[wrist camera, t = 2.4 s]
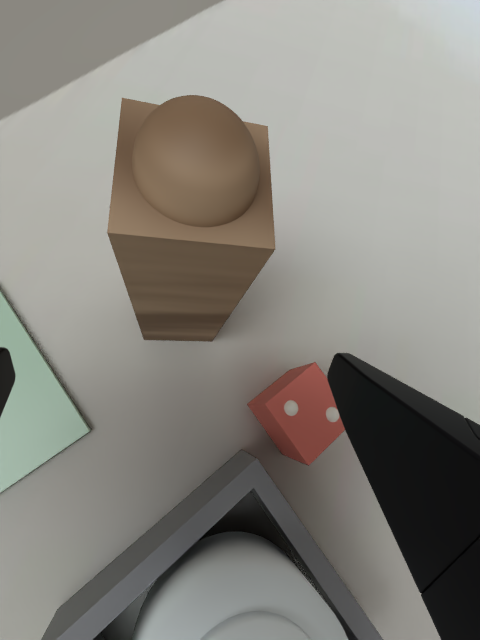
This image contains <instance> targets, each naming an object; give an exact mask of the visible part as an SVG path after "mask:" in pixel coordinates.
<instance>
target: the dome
mask: <svg viewBox="0 0 480 640" xmlns="http://www.w3.org/2000/svg"><path fill="white" fill-rule="evenodd" d="M132 640H348V638H347V636H346V633H345V631H344V629H343V627H342V625H341V624H340V622H339V620H338V619H337V617H336V615H335V614H334V613H333V611H332V610H331V609H330V607H329V606H328V605H327V604H326V602H325V601H324V600H323V599H322V597H321V596H320V595H319V594H318V593H317V591H316V590H315V589H314V588H313V586H312V585H311V584H310V583H309V581H308V580H307V579H306V578H305V576H304V575H303V574H302V573H301V572H300V570H299V569H298V568H297V567H296V565H295V564H294V563H293V562H292V560H291V559H290V558H289V557H288V555H287V554H285V553H284V552H283V551H282V550H281V549H280V548H279V547H278V546H276V545H275V544H274V543H272V542H271V541H269V540H267V539H265V538H263V537H261V536H258V535H255V534H252V533H246V532H224V533H218V534H215V535H212V536H209V537H206V538H204V539H202V540H200V541H198V542H196V543H194V544H193V545H192V546H191V547H190V548H189V549H188V550H187V551H186V552H185V553H184V554H183V555H182V556H181V557H180V558H179V559H178V560H176V561H175V562H174V563H173V564H172V565H171V566H170V567H169V568H168V569H167V570H166V571H165V572H164V573H163V574H162V575H161V576H159V577H158V578H157V580H156V581H155V583H154V585H153V586H152V588H151V590H150V591H149V593H148V595H147V597H146V599H145V601H144V603H143V605H142V608H141V610H140V613H139V616H138V619H137V622H136V625H135V629H134V633H133V637H132Z"/></svg>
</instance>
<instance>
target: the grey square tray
mask: <svg viewBox="0 0 480 640" xmlns="http://www.w3.org/2000/svg"><path fill="white" fill-rule="evenodd" d="M250 491H251V493H252V494H253V495H254V497H255V498H256V500H257V501H258V503H259V504H260V506H261V507H262V509H263V510H264V511H265V513H266V514H267V516H268V517H269V519H270V520H271V522H272V523H273V525H274V526H275V528H276V529H277V530H278V532H279V533H280V535H281V536H282V538H283V539H284V541H285V542H286V544H287V545H288V547H289V548H290V549H291V551H292V552H293V554H294V555H295V557H296V558H297V560H298V561H299V563H300V564H301V565H302V567H303V568H304V570H305V571H306V573H307V574H308V576H309V577H310V579H311V580H312V582H313V583H314V584H315V586H316V587H317V589H318V590H319V592H320V593H321V595H322V596H323V598H324V599H325V600H326V602H327V603H328V605H329V606H330V608H331V609H332V611H333V612H334V614H335V615H336V617H337V619H338V620H339V622H340V624H341V625H342V627H343V629H344V631H345V633H346V636H347V638H348V640H383V639H382V637H381V636H380V634H379V633H378V632H377V630H376V629H375V627H374V626H373V624H372V623H371V622H370V620H369V619H368V617H367V616H366V614H365V613H364V611H363V610H362V609H361V607H360V606H359V604H358V603H357V601H356V600H355V599H354V597H353V596H352V594H351V593H350V591H349V590H348V588H347V587H346V586H345V584H344V583H343V581H342V580H341V578H340V577H339V576H338V574H337V573H336V571H335V570H334V568H333V567H332V565H331V564H330V563H329V561H328V560H327V558H326V557H325V555H324V554H323V553H322V551H321V550H320V548H319V547H318V545H317V544H316V542H315V541H314V540H313V538H312V537H311V535H310V534H309V532H308V531H307V530H306V528H305V527H304V525H303V524H302V522H301V521H300V519H299V518H298V517H297V515H296V514H295V512H294V511H293V509H292V508H291V507H290V505H289V504H288V502H287V501H286V499H285V498H284V497H283V495H282V494H281V492H280V491H279V489H278V488H277V486H276V485H275V484H274V482H273V481H272V479H271V478H270V476H269V475H268V474H267V472H266V471H265V469H264V468H263V466H262V465H261V463H260V462H259V461H258V459H257V458H256V457H254V456H252V455H250V454H249V453H247V452H245V451H243V450H240V451H239V452H238V453H237V454H236V455H235V456H234V457H232V458H231V459H230V460H229V461H228V462H227V463H225V464H224V465H223V466H222V467H221V468H220V469H219V470H217V471H216V472H215V473H214V474H213V475H212V476H211V477H209V478H208V479H207V480H206V481H205V482H204V483H202V484H201V485H200V486H199V487H198V488H197V489H196V490H194V491H193V492H192V493H191V494H190V495H189V496H188V497H186V498H185V499H184V500H183V501H182V502H181V503H179V504H178V505H177V506H176V507H175V508H174V509H173V510H171V511H170V512H169V513H168V514H167V515H166V516H164V517H163V518H162V519H161V520H160V521H159V522H158V523H156V524H155V525H154V526H153V527H152V528H151V529H150V530H148V531H147V532H146V533H145V534H144V535H143V536H141V537H140V538H139V539H138V540H137V541H136V542H135V543H133V544H132V545H131V546H130V547H129V548H128V549H127V550H125V551H124V552H123V553H122V554H121V555H120V556H118V557H117V558H116V559H115V560H114V561H113V562H112V563H110V564H109V565H108V566H107V567H106V568H105V569H103V570H102V571H101V572H100V573H99V574H98V575H97V576H95V577H94V578H93V579H92V580H91V581H90V582H89V583H87V584H86V585H85V586H84V587H83V588H82V589H80V590H79V591H78V592H77V593H76V594H75V595H74V596H72V597H71V598H70V599H69V600H68V601H67V602H66V603H64V604H63V605H62V606H61V607H60V608H59V609H57V611H56V613H55V615H54V617H53V619H52V621H51V622H50V624H49V626H48V628H47V630H46V632H45V634H44V635H43V637H42V639H41V640H105V639H104V638H103V636H102V634H101V633H100V632H101V631H102V630H103V629H104V628H105V627H106V626H107V625H109V624H110V623H111V622H112V621H113V620H114V619H115V618H116V617H117V616H118V615H119V614H120V613H121V612H122V611H123V610H124V609H126V608H127V607H128V606H129V605H130V604H131V603H132V602H133V601H134V600H135V599H136V598H137V597H138V596H139V595H140V594H141V593H142V592H144V591H145V590H146V589H147V588H148V587H149V586H150V585H151V584H152V583H153V582H154V581H155V580H156V579H157V578H158V577H159V576H161V575H162V574H163V573H164V572H165V571H166V570H167V569H168V568H169V567H170V566H171V565H172V564H173V563H174V562H175V561H176V560H178V559H179V558H180V557H181V556H182V555H183V554H184V553H185V552H186V551H187V550H188V549H189V548H190V547H191V546H192V545H193V544H194V543H196V542H197V541H198V540H199V539H200V538H201V537H202V536H203V535H204V534H205V533H206V532H207V531H208V530H209V529H210V528H211V527H213V526H214V525H215V524H216V523H217V522H218V521H219V520H220V519H221V518H222V517H223V516H224V515H225V514H226V513H227V512H228V511H230V510H231V509H232V508H233V507H234V506H235V505H236V504H237V503H238V502H239V501H240V500H241V499H242V498H243V497H244V496H245V495H246V494H248V493H249V492H250Z"/></svg>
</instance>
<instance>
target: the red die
mask: <svg viewBox="0 0 480 640" xmlns="http://www.w3.org/2000/svg"><path fill="white" fill-rule="evenodd" d="M247 405H248V406H249V408H250V409H251V411H252V412H253V413H254V415H255V416H256V418H257V419H258V420H259V422H260V423H261V425H262V426H263V428H264V429H265V430H266V432H267V433H268V435H269V436H270V437H271V439H272V440H273V442H274V443H275V445H276V446H277V447H278V449H279V450H280V452H281V453H282V455H285V456H287V457H289V458H292V459H294V460H297V461H299V462H301V463H304V464H306V465H308V466H309V465H310V464H311V463H312V462H313V461H314V460H315V459H316V458H317V457H318V456H319V455H320V454H321V453H322V452H323V451H324V450H325V449H326V448H327V447H328V446H329V445H330V444H331V443H332V442H333V441H334V440H335V439H336V438H337V437H338V436H339V435H340V434H341V433H342V432H343V431H344V430H345V428H344V426H343V423H342V421H341V418H340V415H339V412H338V409H337V406H336V403H335V401H334V398H333V395H332V392H331V389H330V386H329V383H328V379H327V378H326V376H325V375H324V374H323V372H322V371H321V369H320V368H319V367H318V365H317V364H316V363H315V362H314V363H311V364H308V365H304V366H301V367H297V368H294V369H291V370H289V371H288V372H286V373H285V374H284V375H283V376H281V377H280V378H279V379H278V380H277V381H275V382H274V383H273V384H272V385H270V386H269V387H268V388H267V389H265V390H264V391H263V392H262V393H260V394H259V395H258V396H257V397H255V398H254V399H253V400H252V401H251V402H249V403H248V404H247Z"/></svg>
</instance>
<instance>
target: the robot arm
mask: <svg viewBox="0 0 480 640" xmlns="http://www.w3.org/2000/svg"><path fill="white" fill-rule="evenodd" d="M15 377H16V376H15V370H14V366H13V363H12V359H11V355H10V352H9V350H8V349H7V348H5V347H0V417H1V415H2V412H3V410H4V407H5V405H6V402H7V400H8V398H9V395H10V393H11V390H12V388H13V385H14V383H15ZM327 379H328V383H329V386H330V389H331V392H332V395H333V398H334V401H335V403H336V406H337V409H338V412H339V415H340V418H341V421H342V423H343V426H344V428H345V430H346V433H347V435H348V437H349V439H350V441H351V443H352V446H353V448H354V450H355V452H356V454H357V457H358V459H359V461H360V463H361V465H362V467H363V470H364V472H365V474H366V476H367V478H368V481H369V483H370V485H371V487H372V489H373V491H374V494H375V496H376V498H377V500H378V502H379V504H380V507H381V509H382V511H383V513H384V515H385V518H386V520H387V522H388V524H389V526H390V528H391V531H392V533H393V535H394V537H395V539H396V542H397V544H398V546H399V548H400V550H401V552H402V555H403V557H404V559H405V561H406V563H407V565H408V568H409V570H410V572H411V574H412V576H413V579H414V581H415V583H416V585H417V587H418V589H419V592H420V593H422V594H421V596H422V599H423V601H424V603H425V605H426V607H427V610H428V612H429V614H430V616H431V618H432V620H433V623H434V625H435V627H436V629H437V631H438V633H439V636H440V638H441V640H480V425H479V424H477V423H475V422H473V421H472V420H470V419H468V418H464V416H462V415H461V414H459V413H457V412H455V411H453V410H451V409H450V408H448V407H446V406H444V405H442V404H441V403H439V402H437V401H435V400H433V399H431V398H430V397H428V396H426V395H424V394H422V393H421V392H419V391H417V390H415V389H413V388H411V387H410V386H408V385H406V384H404V383H402V382H401V381H399V380H397V379H395V378H393V377H391V376H390V375H388V374H386V373H384V372H382V371H380V370H379V369H377V368H375V367H373V366H371V365H370V364H368V363H366V362H364V361H362V360H360V359H359V358H357V357H355V356H353V355H351V354H349V353H337V354H335V356H334V358H333V360H332V363H331V366H330V368H329V371H328V375H327Z"/></svg>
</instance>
